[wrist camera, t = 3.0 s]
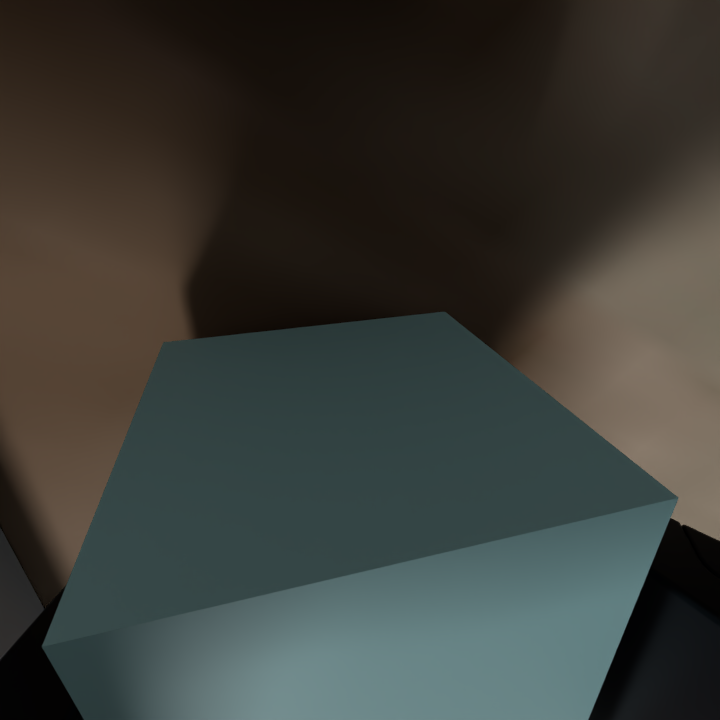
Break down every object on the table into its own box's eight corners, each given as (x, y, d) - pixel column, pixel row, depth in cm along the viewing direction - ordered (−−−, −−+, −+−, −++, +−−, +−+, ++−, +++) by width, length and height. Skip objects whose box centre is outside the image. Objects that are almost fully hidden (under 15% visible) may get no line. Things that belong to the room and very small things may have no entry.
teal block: (445, 311, 8) (679, 498, 4) (430, 507, 10) (568, 767, 6) (163, 342, 7) (42, 646, 3) (215, 553, 9) (192, 906, 5)
